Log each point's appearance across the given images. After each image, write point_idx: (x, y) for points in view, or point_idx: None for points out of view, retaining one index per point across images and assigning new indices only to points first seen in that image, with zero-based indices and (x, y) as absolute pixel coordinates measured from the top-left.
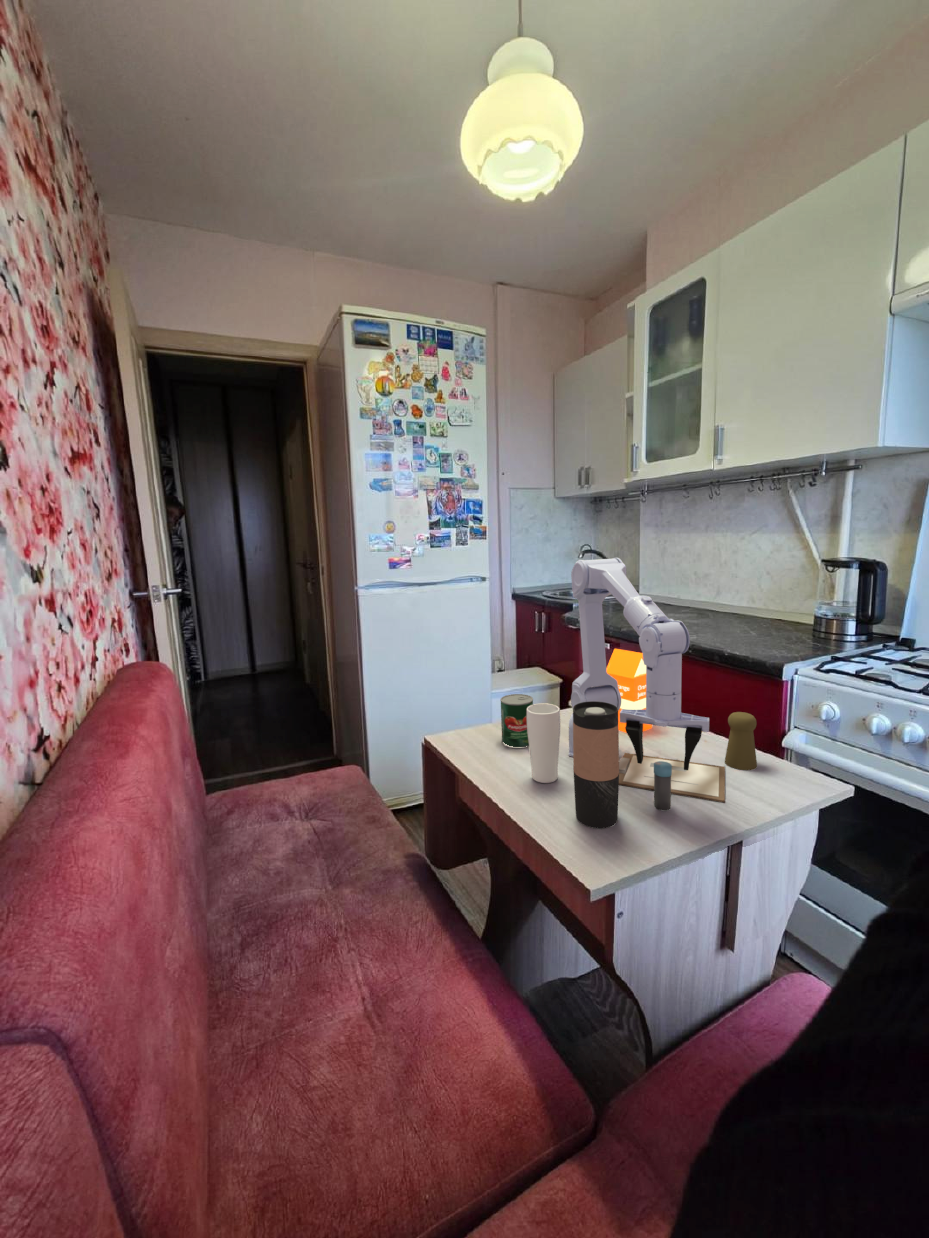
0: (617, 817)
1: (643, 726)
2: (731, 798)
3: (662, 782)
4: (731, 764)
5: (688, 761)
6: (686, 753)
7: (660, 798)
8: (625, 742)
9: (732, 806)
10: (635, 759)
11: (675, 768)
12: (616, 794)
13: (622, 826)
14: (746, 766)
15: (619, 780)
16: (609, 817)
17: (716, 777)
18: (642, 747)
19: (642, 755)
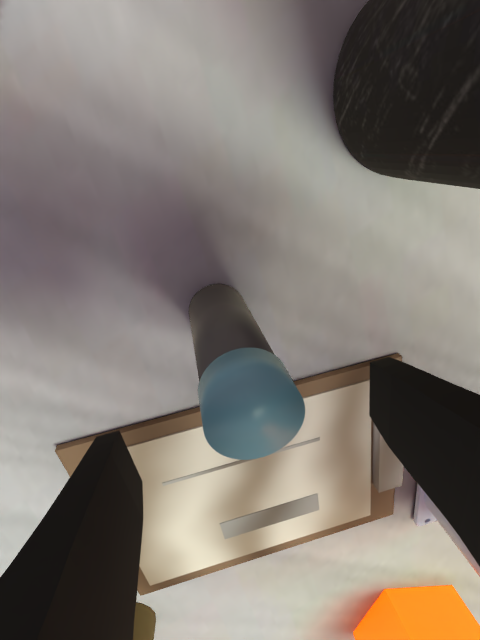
0: (339, 100)
1: (374, 627)
2: (52, 477)
3: (226, 336)
4: None
5: (65, 487)
6: (58, 552)
7: (221, 300)
8: (397, 554)
9: (26, 439)
10: (360, 501)
11: (250, 520)
12: (423, 19)
13: (304, 70)
14: None
15: None
16: (376, 1)
17: None
18: (421, 475)
19: (390, 420)
